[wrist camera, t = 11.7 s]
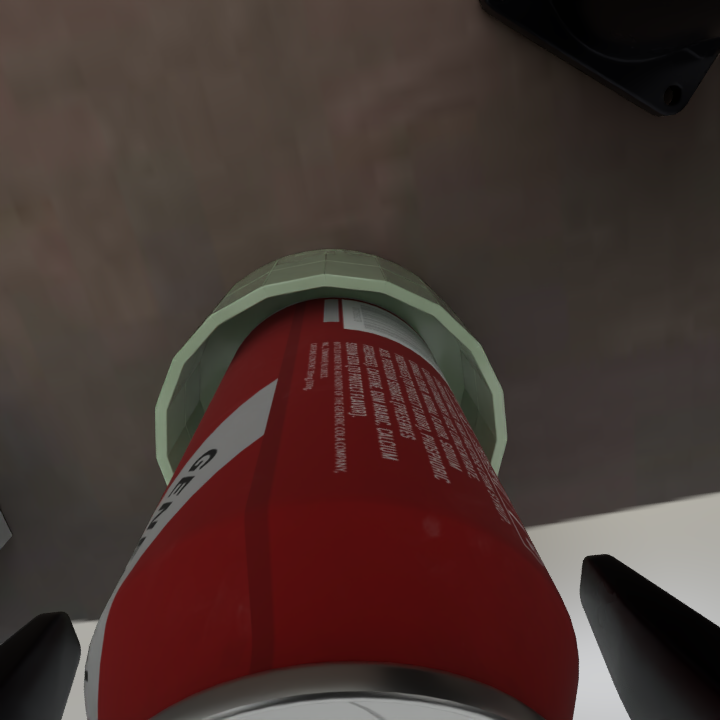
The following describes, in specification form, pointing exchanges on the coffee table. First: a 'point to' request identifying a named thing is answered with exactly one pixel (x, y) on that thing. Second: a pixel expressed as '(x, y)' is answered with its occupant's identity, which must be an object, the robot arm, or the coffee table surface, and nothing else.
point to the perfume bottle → (4, 531)
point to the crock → (311, 280)
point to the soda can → (333, 550)
